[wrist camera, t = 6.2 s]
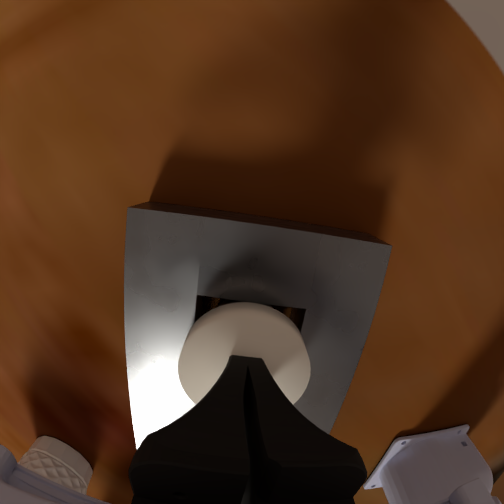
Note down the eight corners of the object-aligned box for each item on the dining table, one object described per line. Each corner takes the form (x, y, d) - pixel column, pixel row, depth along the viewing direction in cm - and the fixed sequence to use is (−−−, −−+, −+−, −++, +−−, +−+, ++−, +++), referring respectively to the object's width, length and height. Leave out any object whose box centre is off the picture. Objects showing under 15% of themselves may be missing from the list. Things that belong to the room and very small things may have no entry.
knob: (303, 283, 16) (324, 325, 12) (284, 368, 18) (294, 425, 13) (199, 269, 16) (180, 307, 11) (192, 357, 17) (176, 412, 13)
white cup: (55, 471, 22) (25, 530, 12) (21, 424, 20) (-22, 485, 11) (110, 484, 22) (85, 555, 12) (76, 437, 20) (35, 516, 10)
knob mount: (368, 233, 16) (392, 245, 13) (283, 490, 22) (286, 515, 19) (148, 201, 15) (127, 207, 13) (153, 476, 21) (147, 500, 18)
